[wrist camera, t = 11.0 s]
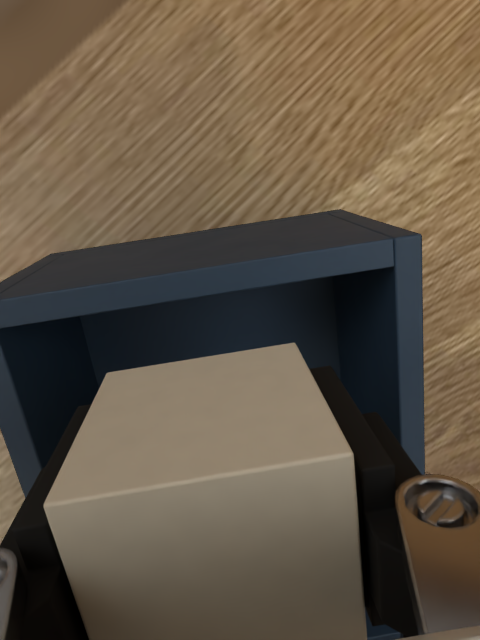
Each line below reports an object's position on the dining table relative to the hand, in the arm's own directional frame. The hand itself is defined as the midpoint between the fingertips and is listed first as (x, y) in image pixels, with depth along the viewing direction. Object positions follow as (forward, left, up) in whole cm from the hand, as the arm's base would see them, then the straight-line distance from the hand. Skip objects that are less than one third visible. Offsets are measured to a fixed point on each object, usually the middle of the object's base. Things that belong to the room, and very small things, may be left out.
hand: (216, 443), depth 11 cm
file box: (+2, -4, -10) cm, 11 cm away
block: (0, 0, 0) cm, 0 cm away
